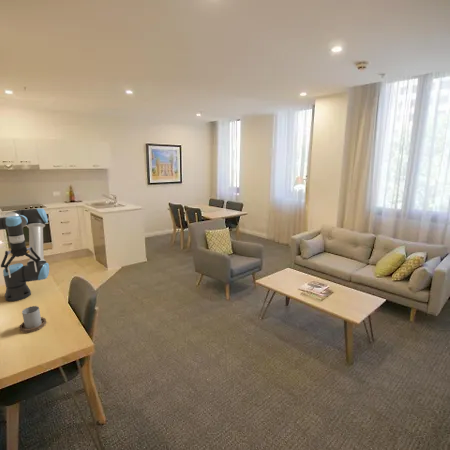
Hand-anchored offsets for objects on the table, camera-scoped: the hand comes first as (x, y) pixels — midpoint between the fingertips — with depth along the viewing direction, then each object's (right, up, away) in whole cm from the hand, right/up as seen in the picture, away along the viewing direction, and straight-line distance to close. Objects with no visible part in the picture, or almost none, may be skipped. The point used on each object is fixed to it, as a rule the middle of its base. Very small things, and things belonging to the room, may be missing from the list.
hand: (23, 274), depth 180 cm
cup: (+11, -29, -8) cm, 32 cm away
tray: (+11, -30, -8) cm, 33 cm away
